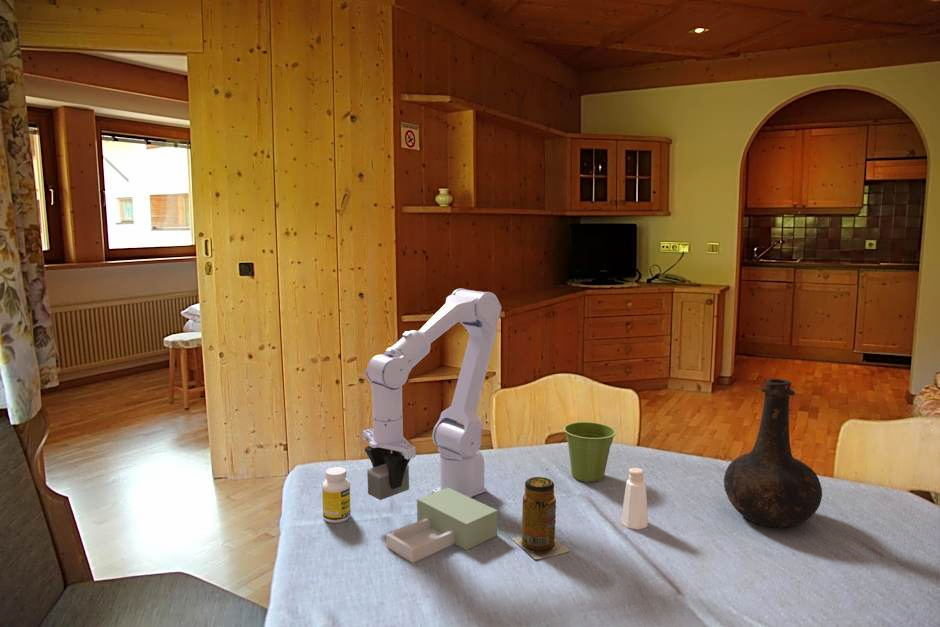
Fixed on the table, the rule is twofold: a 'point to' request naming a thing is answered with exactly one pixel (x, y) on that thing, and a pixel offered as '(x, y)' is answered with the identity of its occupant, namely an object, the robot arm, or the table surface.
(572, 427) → the plant pot
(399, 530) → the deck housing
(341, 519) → the supplement bottle
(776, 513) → the glass bottle
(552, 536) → the condiment
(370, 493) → the grey rectangular block
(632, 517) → the salt shaker
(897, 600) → the table surface
